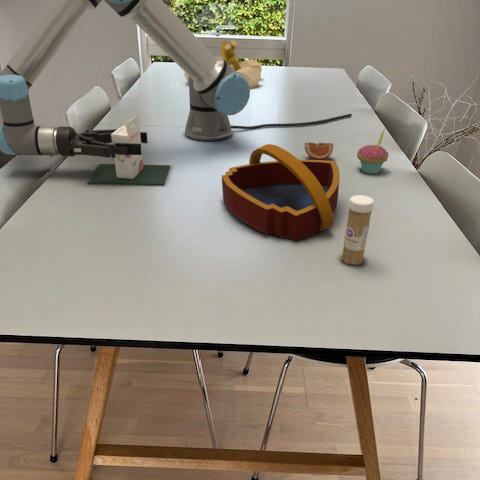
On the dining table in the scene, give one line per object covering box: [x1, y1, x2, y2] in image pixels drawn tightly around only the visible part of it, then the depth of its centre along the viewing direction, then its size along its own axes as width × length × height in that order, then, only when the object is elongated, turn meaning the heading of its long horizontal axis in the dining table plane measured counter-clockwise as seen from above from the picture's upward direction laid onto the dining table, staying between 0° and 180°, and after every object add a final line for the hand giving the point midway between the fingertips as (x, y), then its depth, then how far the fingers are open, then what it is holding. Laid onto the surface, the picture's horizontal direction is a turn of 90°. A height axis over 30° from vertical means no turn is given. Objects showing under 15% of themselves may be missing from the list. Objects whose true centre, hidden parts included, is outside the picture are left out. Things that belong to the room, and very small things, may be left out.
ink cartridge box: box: [111, 114, 144, 179], centre depth 143 cm, size 9×5×15 cm, turn 168°
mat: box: [87, 163, 171, 186], centre depth 147 cm, size 20×14×1 cm
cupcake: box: [356, 128, 389, 175], centre depth 149 cm, size 9×8×12 cm
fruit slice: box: [304, 142, 334, 161], centre depth 159 cm, size 8×7×5 cm
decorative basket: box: [221, 143, 340, 242], centre depth 127 cm, size 34×29×15 cm
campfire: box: [183, 39, 263, 89], centre depth 235 cm, size 35×34×17 cm
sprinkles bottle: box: [341, 194, 375, 266], centre depth 107 cm, size 5×5×14 cm
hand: (144, 143), depth 142 cm, fingers closed on ink cartridge box, 9 cm apart
